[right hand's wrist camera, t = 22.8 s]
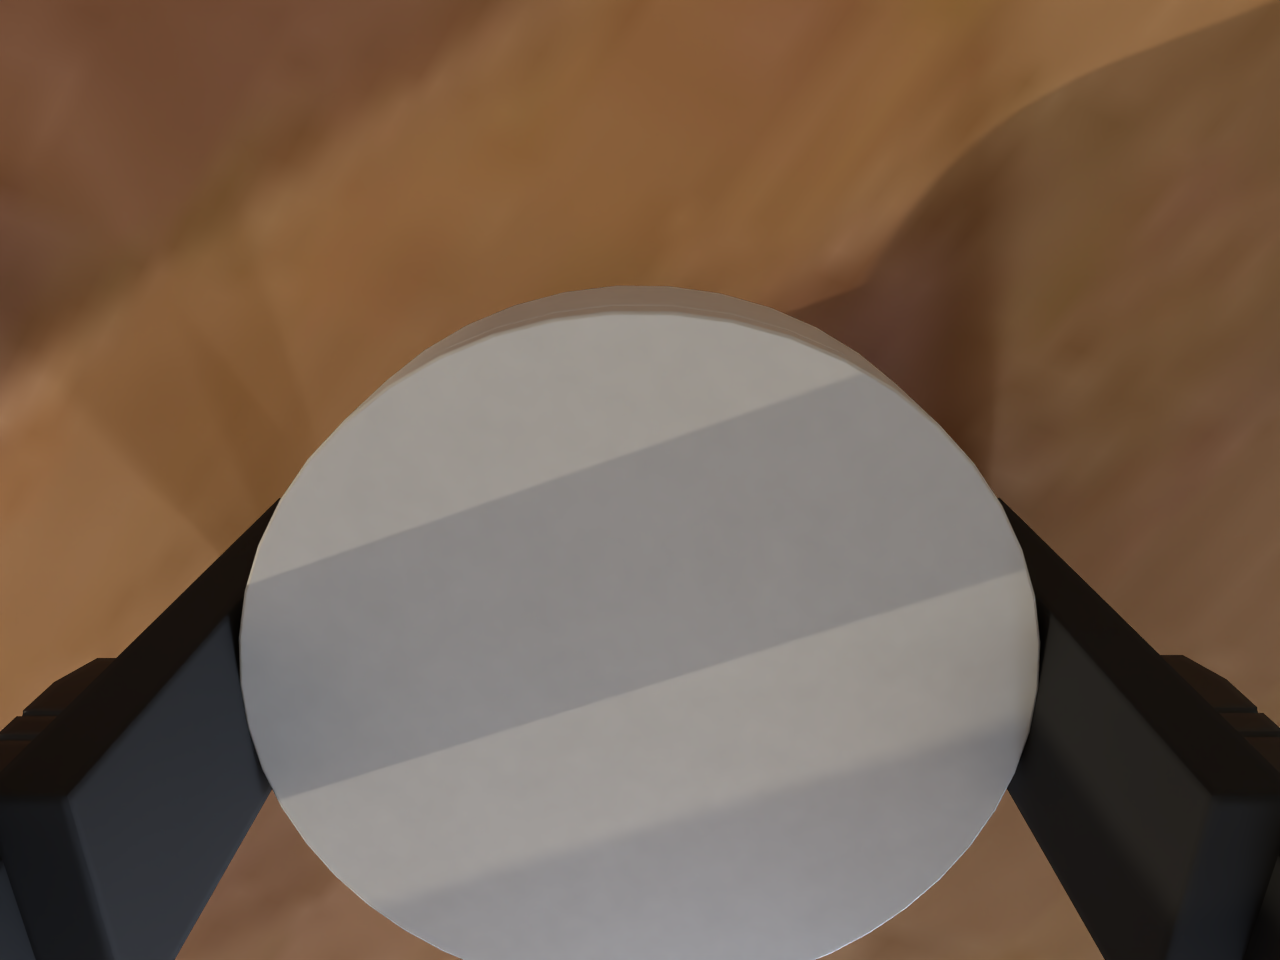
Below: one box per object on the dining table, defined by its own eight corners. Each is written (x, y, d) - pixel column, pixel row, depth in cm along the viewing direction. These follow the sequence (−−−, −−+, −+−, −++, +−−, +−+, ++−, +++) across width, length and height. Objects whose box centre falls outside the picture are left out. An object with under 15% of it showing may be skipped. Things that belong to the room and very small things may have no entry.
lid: (1070, 763, 13) (1132, 852, 11) (504, 970, 14) (487, 1076, 13) (835, 140, 10) (874, 139, 8) (148, 483, 11) (65, 540, 10)
